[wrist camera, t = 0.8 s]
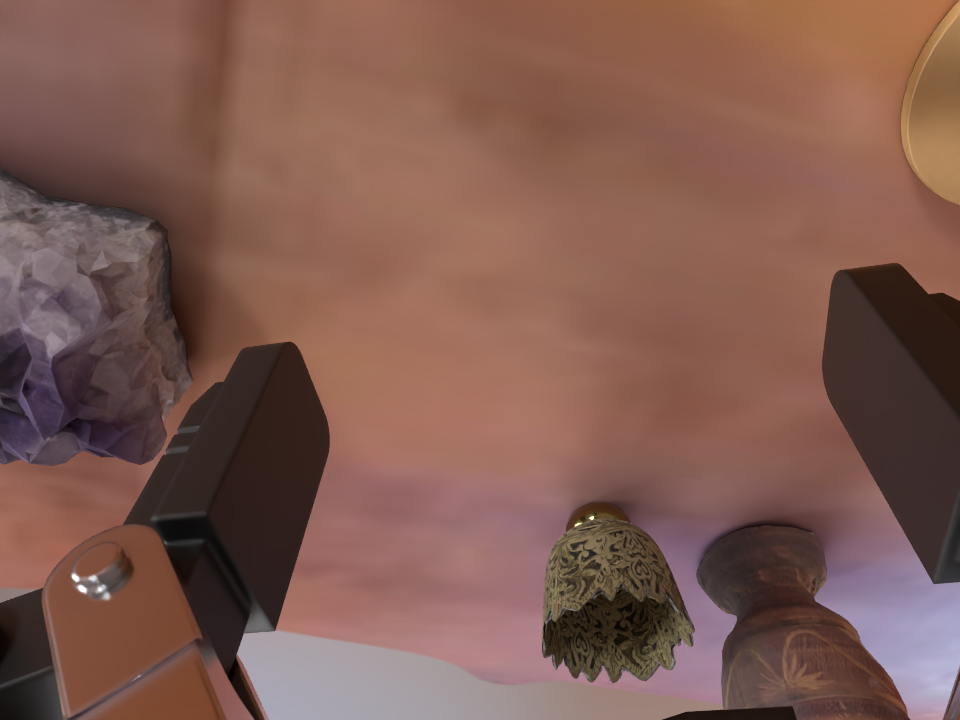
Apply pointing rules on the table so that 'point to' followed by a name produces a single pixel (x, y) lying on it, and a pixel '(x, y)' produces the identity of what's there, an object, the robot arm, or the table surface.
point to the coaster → (935, 111)
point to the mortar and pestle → (790, 632)
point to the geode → (84, 330)
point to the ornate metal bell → (611, 599)
